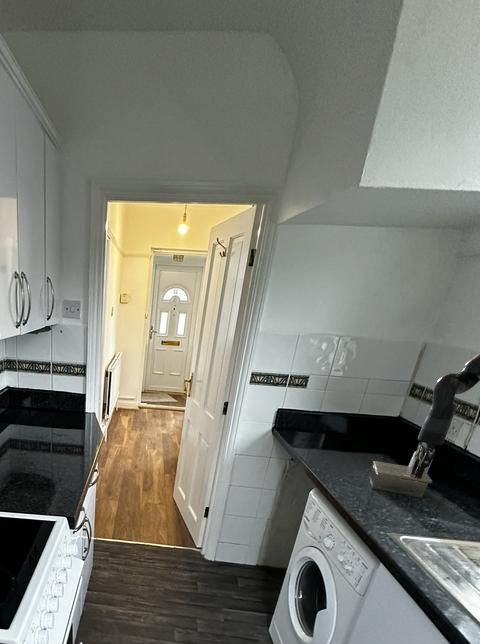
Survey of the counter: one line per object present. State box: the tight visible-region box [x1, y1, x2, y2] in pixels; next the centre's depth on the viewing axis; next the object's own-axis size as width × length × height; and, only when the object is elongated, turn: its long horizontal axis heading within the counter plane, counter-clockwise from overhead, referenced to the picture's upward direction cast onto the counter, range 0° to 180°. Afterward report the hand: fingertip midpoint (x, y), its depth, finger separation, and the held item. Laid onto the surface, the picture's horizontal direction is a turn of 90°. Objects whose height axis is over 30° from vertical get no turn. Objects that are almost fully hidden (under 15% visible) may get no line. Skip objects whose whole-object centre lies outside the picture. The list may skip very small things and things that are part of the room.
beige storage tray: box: [367, 463, 429, 499], centre depth 160 cm, size 16×14×6 cm
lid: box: [372, 460, 433, 484], centre depth 157 cm, size 17×14×6 cm
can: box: [407, 451, 434, 474], centre depth 167 cm, size 6×6×12 cm
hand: (416, 472), depth 156 cm, fingers closed on lid, 5 cm apart
